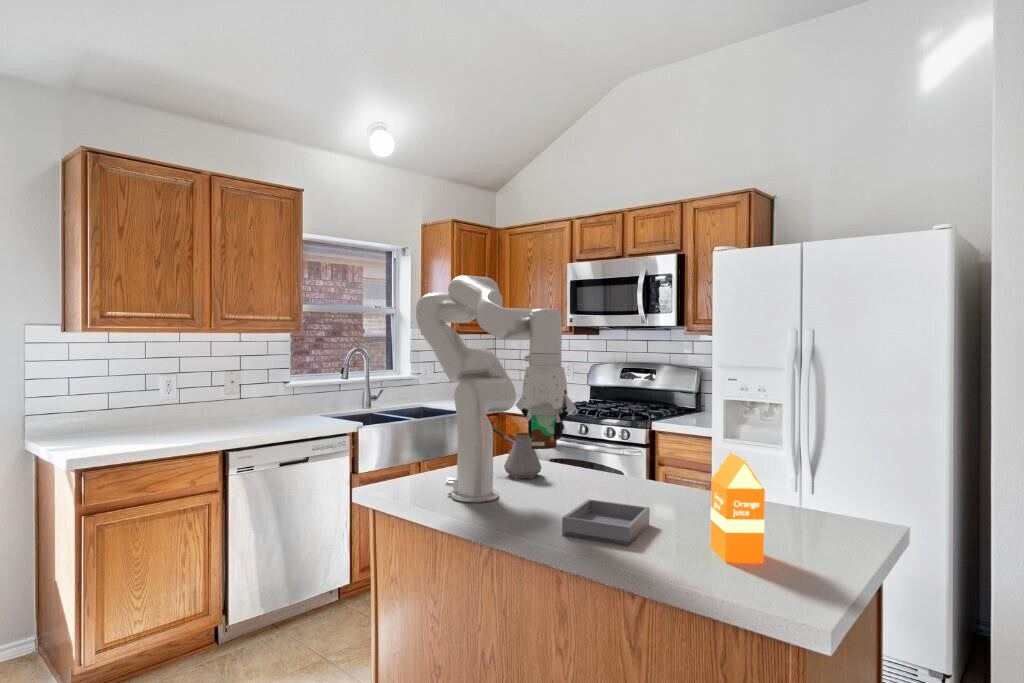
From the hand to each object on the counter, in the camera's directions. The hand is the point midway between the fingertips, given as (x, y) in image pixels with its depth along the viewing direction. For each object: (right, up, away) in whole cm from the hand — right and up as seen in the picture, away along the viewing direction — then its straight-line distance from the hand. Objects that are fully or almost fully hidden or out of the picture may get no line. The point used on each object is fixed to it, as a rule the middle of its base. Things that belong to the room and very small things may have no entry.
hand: (545, 437), depth 150 cm
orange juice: (+37, -21, -21) cm, 48 cm away
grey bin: (+14, -20, -6) cm, 25 cm away
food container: (+1, -2, -1) cm, 3 cm away
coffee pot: (-9, -19, +48) cm, 52 cm away
